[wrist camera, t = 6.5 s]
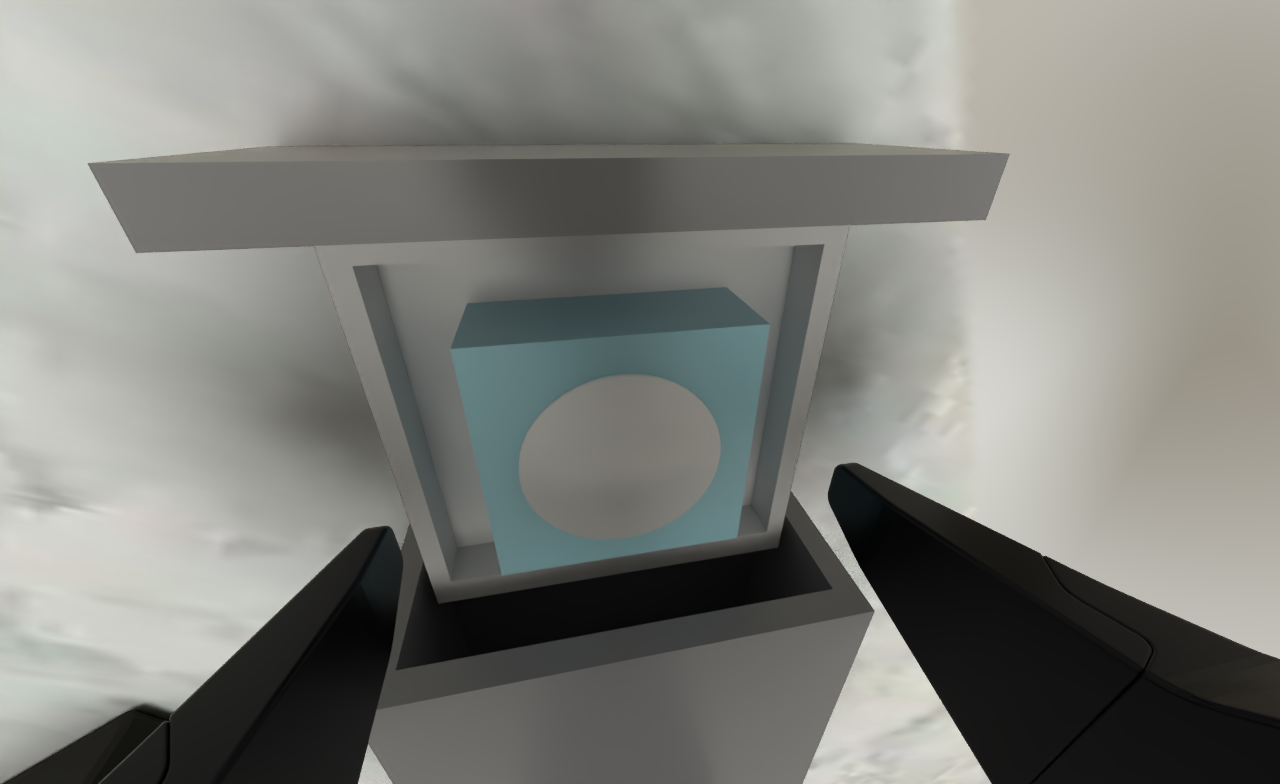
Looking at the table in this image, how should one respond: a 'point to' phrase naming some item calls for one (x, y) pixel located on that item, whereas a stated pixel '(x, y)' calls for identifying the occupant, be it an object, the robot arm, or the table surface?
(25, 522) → the table surface
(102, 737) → the electronic device
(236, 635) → the table surface
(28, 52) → the table surface
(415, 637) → the grey drawer box
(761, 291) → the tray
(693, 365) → the block
